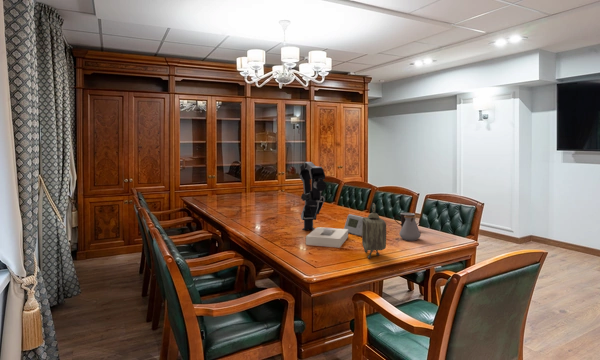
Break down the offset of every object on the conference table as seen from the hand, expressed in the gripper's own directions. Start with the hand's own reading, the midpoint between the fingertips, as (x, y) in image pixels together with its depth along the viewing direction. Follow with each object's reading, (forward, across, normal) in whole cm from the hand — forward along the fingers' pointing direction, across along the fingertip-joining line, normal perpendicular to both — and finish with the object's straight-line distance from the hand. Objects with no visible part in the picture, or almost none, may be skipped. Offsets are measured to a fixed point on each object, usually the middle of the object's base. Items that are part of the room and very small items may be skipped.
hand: (315, 215), depth 216 cm
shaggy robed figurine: (+11, +31, +36) cm, 49 cm away
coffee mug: (+12, -33, +49) cm, 60 cm away
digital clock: (+12, -12, +21) cm, 27 cm away
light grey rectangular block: (+11, +10, +10) cm, 18 cm away
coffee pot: (+11, -3, +53) cm, 54 cm away
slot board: (+11, +10, +10) cm, 18 cm away
